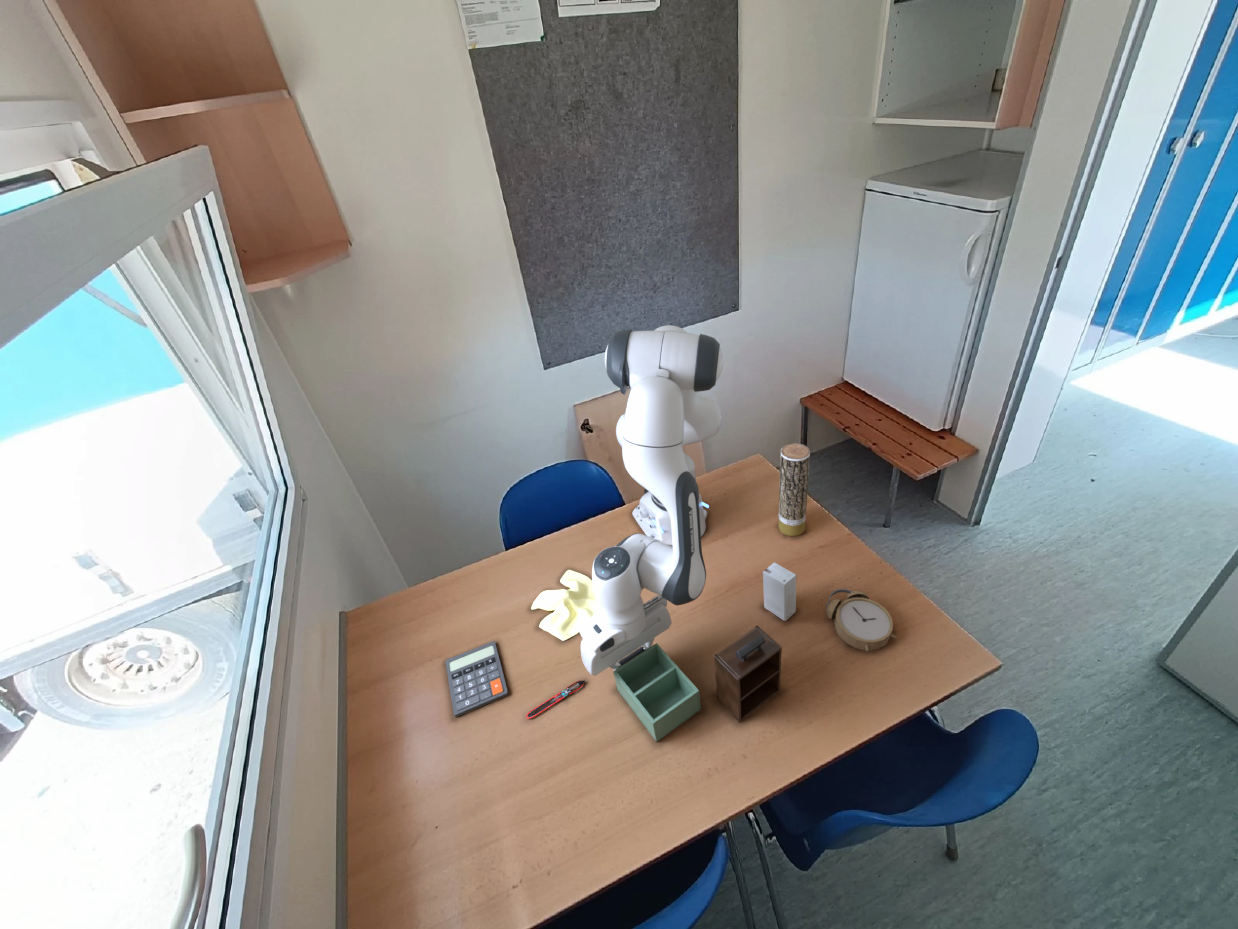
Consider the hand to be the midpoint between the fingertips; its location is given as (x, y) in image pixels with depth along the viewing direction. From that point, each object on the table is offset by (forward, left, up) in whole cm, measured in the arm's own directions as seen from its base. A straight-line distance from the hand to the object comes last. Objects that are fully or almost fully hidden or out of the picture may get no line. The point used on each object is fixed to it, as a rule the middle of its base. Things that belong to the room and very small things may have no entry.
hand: (632, 660), depth 120 cm
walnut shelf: (+16, +15, +5) cm, 22 cm away
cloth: (-25, -2, -3) cm, 25 cm away
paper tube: (-9, +57, -3) cm, 58 cm away
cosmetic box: (+8, +35, -3) cm, 36 cm away
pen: (-4, -17, -3) cm, 18 cm away
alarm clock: (+21, +45, -3) cm, 50 cm away
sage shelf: (+7, 0, -3) cm, 8 cm away
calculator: (-20, -29, -3) cm, 35 cm away
